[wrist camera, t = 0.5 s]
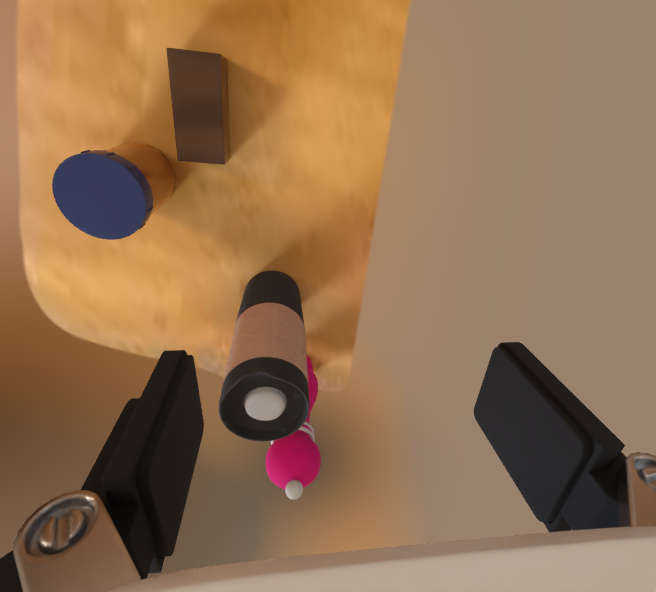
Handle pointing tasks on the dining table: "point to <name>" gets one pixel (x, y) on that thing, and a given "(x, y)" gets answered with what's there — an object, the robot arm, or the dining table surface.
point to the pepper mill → (296, 452)
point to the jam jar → (150, 169)
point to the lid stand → (200, 105)
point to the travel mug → (267, 362)
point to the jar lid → (102, 194)
